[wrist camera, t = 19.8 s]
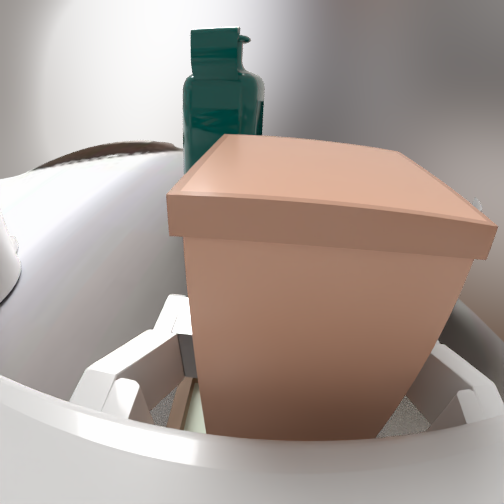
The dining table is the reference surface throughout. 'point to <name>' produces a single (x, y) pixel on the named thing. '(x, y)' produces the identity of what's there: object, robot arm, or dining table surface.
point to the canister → (316, 281)
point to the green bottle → (218, 92)
